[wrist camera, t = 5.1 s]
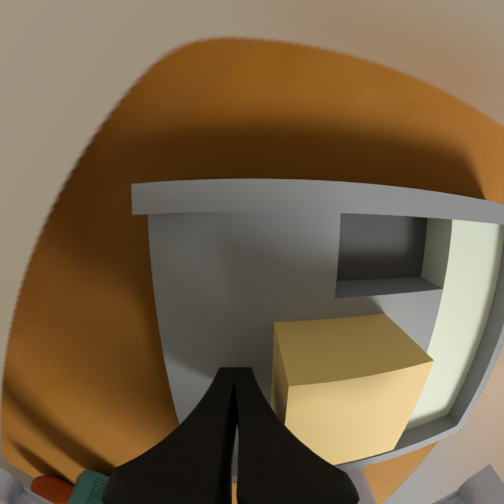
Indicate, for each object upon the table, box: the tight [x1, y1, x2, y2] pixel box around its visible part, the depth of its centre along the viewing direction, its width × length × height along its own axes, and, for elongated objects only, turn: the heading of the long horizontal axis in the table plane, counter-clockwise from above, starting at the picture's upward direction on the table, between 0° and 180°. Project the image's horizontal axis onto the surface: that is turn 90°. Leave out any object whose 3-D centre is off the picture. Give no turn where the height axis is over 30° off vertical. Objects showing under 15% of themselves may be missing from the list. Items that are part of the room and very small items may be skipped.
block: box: [271, 313, 434, 465], centre depth 9 cm, size 5×5×4 cm
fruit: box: [31, 475, 74, 504], centre depth 15 cm, size 9×9×8 cm
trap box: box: [131, 179, 504, 482], centre depth 12 cm, size 16×19×4 cm
